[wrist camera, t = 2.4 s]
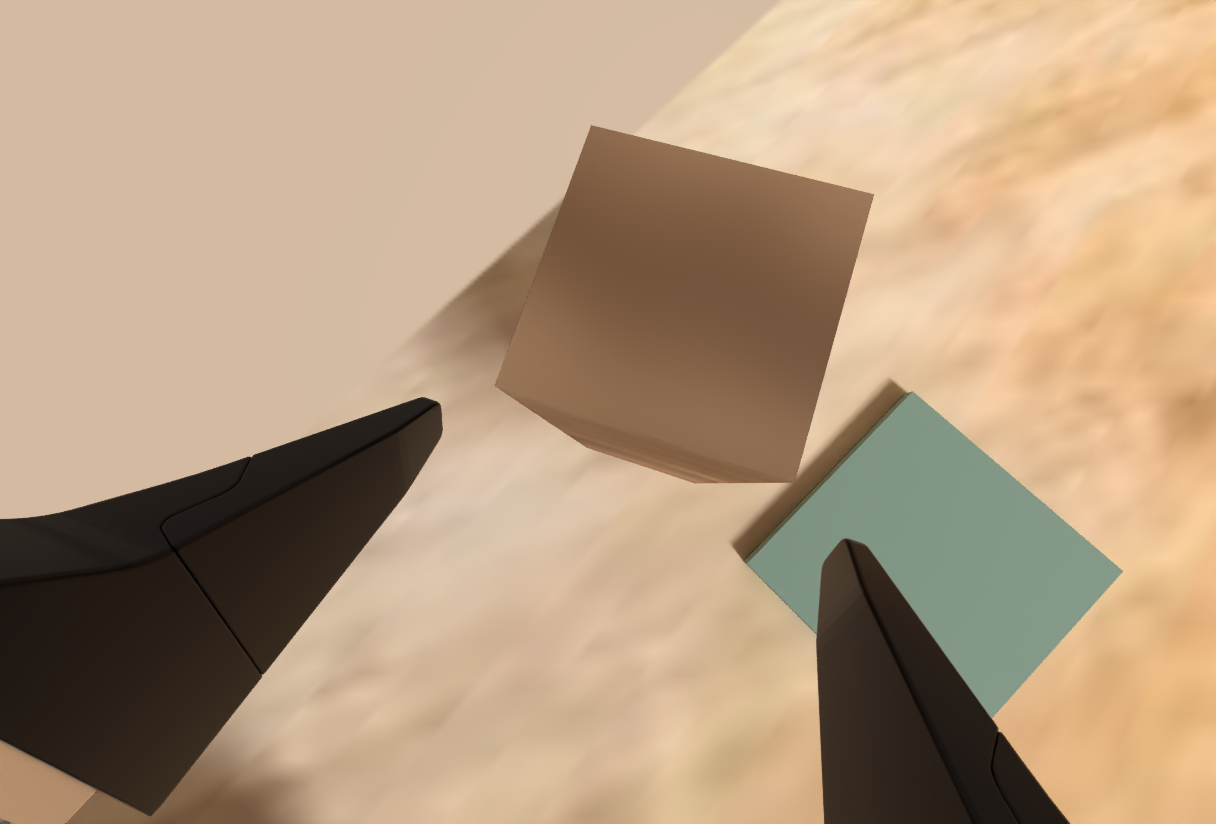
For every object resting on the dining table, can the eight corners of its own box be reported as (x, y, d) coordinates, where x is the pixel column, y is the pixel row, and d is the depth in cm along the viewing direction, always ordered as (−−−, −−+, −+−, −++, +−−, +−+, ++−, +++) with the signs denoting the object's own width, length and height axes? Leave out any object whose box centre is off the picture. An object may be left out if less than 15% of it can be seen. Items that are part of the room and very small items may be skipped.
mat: (1107, 568, 18) (1123, 571, 18) (938, 756, 18) (948, 765, 17) (904, 394, 20) (912, 391, 19) (743, 561, 19) (746, 563, 19)
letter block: (695, 483, 20) (795, 482, 7) (586, 447, 20) (494, 385, 8) (728, 372, 20) (876, 186, 8) (622, 340, 21) (594, 118, 8)
